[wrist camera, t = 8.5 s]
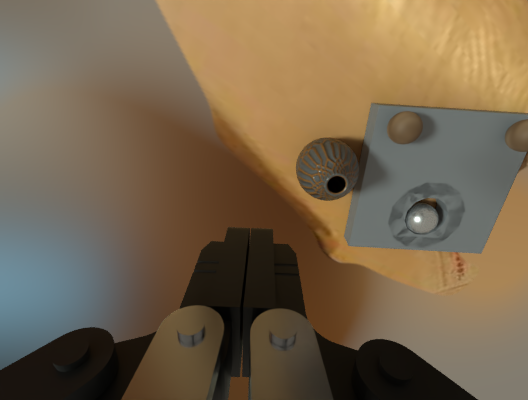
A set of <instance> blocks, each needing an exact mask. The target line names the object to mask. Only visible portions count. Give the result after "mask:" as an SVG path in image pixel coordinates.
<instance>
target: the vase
mask: <svg viewBox="0 0 528 400" xmlns="http://www.w3.org/2000/svg"><path fill="white" fill-rule="evenodd" d="M296 173H297V178H298V181H299V183H300V185H301V186H302V188H303V189H304V190H305V191H306V192H307V193H308V194H309V195H311V196H313V197H315V198H317V199H320V200H327V201H330V200H336V199H339V198H341V197H343V196H345V195H346V194H348V193H349V192H350V191H351V190H352V189H353V187H354V186H355V184H356V182H357V179H358V175H359V164H358V160H357V157H356V155H355V153H354V152H353V150H352V149H351V148H350V147H349V146H348V145H347V144H345V143H344V142H342V141H340V140H338V139H334V138H320V139H317V140H314V141H312V142H310V143H309V144H308V145H306V146H305V147H304V149H303V150H302V151H301V153H300V155H299V157H298V159H297V163H296Z"/></svg>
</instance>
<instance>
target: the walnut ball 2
mask: <svg viewBox="0 0 528 400" xmlns="http://www.w3.org/2000/svg"><path fill="white" fill-rule="evenodd" d="M505 142H506V144H507V146H508V147H509V148H511V149H512V150H515V151H518V152H528V119H525V120H521V121H518V122H516V123H514V124H513V125H511V126H510V127H509V128H508V130H507V131H506V134H505Z"/></svg>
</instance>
